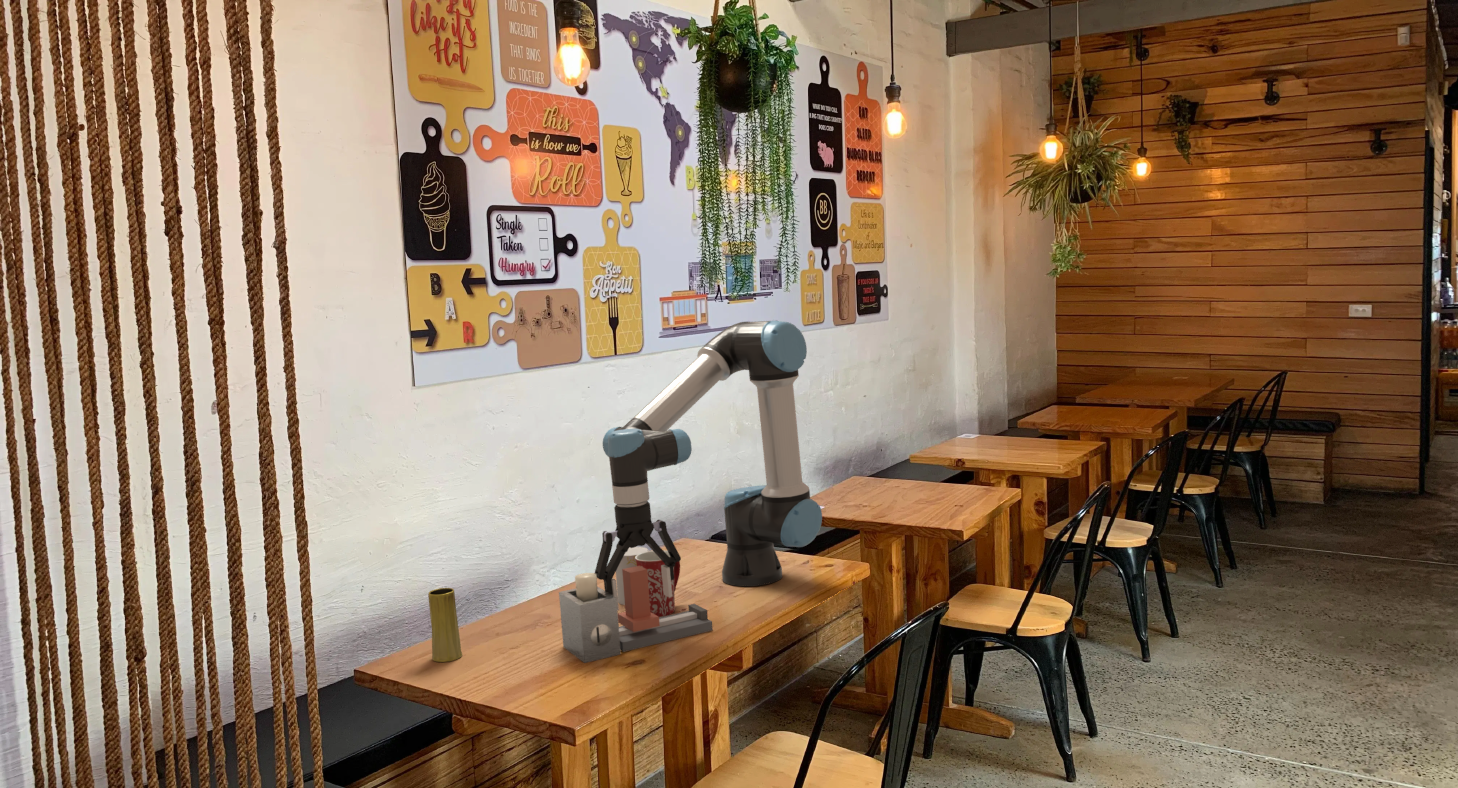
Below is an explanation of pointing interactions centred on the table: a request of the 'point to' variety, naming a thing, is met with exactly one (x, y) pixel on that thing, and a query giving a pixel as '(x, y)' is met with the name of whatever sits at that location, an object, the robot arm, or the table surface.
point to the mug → (658, 583)
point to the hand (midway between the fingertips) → (641, 602)
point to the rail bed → (667, 629)
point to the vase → (444, 625)
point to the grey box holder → (590, 625)
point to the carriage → (637, 601)
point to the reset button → (586, 587)
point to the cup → (626, 562)
